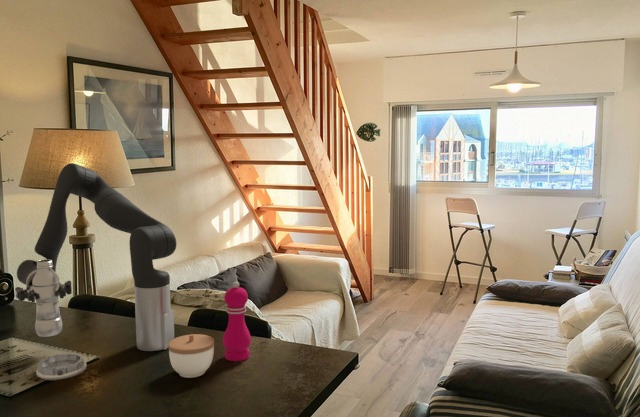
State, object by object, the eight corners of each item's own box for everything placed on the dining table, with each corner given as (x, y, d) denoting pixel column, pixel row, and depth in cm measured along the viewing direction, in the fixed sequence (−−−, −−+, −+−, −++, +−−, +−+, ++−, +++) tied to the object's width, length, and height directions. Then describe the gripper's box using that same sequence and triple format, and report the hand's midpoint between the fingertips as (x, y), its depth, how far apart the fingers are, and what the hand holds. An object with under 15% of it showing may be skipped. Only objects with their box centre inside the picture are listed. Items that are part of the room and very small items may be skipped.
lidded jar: (198, 384, 121) (197, 345, 120) (159, 378, 125) (158, 339, 124) (223, 367, 131) (222, 330, 130) (186, 361, 135) (185, 325, 134)
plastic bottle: (35, 341, 135) (30, 264, 133) (35, 333, 141) (30, 259, 139) (63, 337, 138) (58, 261, 136) (62, 329, 144) (58, 257, 142)
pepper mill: (248, 362, 134) (247, 285, 132) (220, 362, 134) (218, 285, 132) (253, 351, 141) (252, 278, 139) (226, 351, 141) (224, 278, 139)
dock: (95, 362, 134) (94, 353, 133) (69, 381, 123) (68, 371, 123) (55, 360, 135) (54, 351, 135) (25, 378, 124) (25, 368, 124)
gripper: (11, 274, 146) (14, 286, 132) (68, 267, 154) (77, 278, 140) (13, 300, 147) (16, 315, 133) (70, 292, 154) (79, 306, 140)
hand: (47, 296), depth 136 cm, fingers closed on plastic bottle, 6 cm apart
